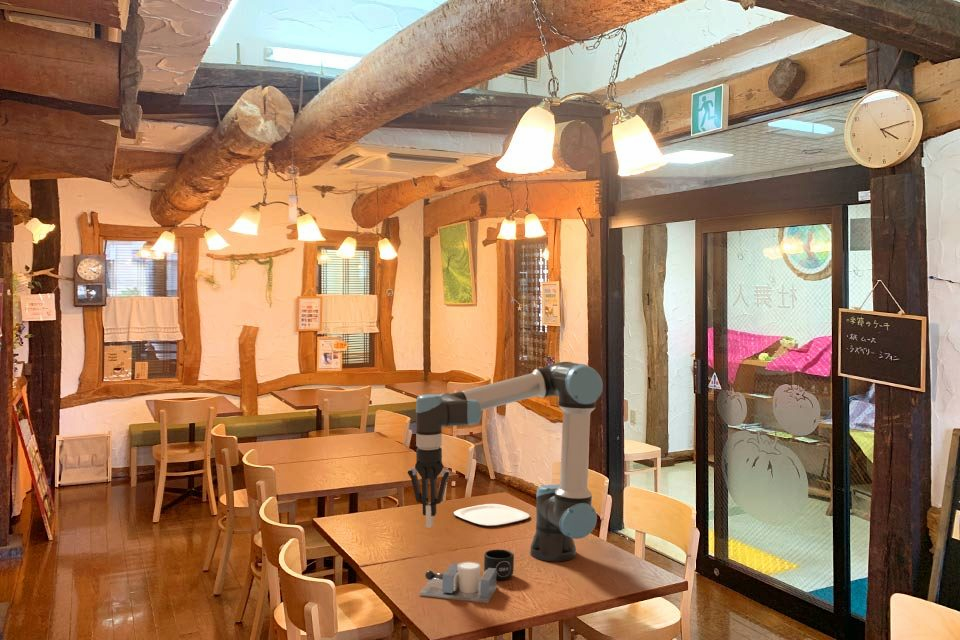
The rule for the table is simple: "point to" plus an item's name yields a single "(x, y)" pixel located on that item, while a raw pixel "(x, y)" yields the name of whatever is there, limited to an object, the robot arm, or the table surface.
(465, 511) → the plate
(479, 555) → the table surface
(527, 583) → the table surface
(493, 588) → the vise
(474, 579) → the white cylinder
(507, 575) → the mug
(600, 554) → the table surface
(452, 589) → the jaw
